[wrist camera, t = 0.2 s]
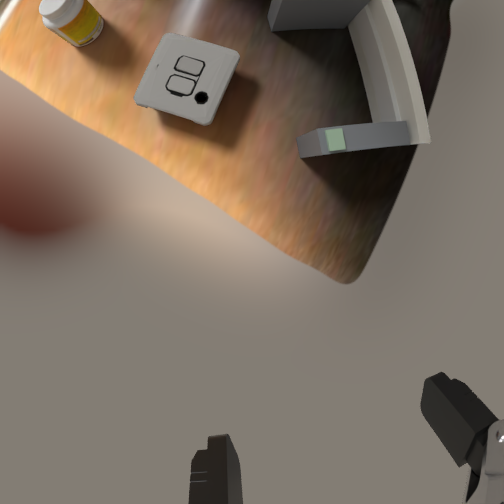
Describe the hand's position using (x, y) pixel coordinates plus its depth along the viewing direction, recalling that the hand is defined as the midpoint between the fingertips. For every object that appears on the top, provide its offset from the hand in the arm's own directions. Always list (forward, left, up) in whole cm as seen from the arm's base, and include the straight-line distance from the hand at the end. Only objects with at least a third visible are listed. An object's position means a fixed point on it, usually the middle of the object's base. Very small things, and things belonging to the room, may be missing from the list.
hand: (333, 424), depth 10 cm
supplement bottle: (-34, -17, -29) cm, 48 cm away
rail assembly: (-19, +12, -29) cm, 37 cm away
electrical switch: (-19, -1, -29) cm, 35 cm away
